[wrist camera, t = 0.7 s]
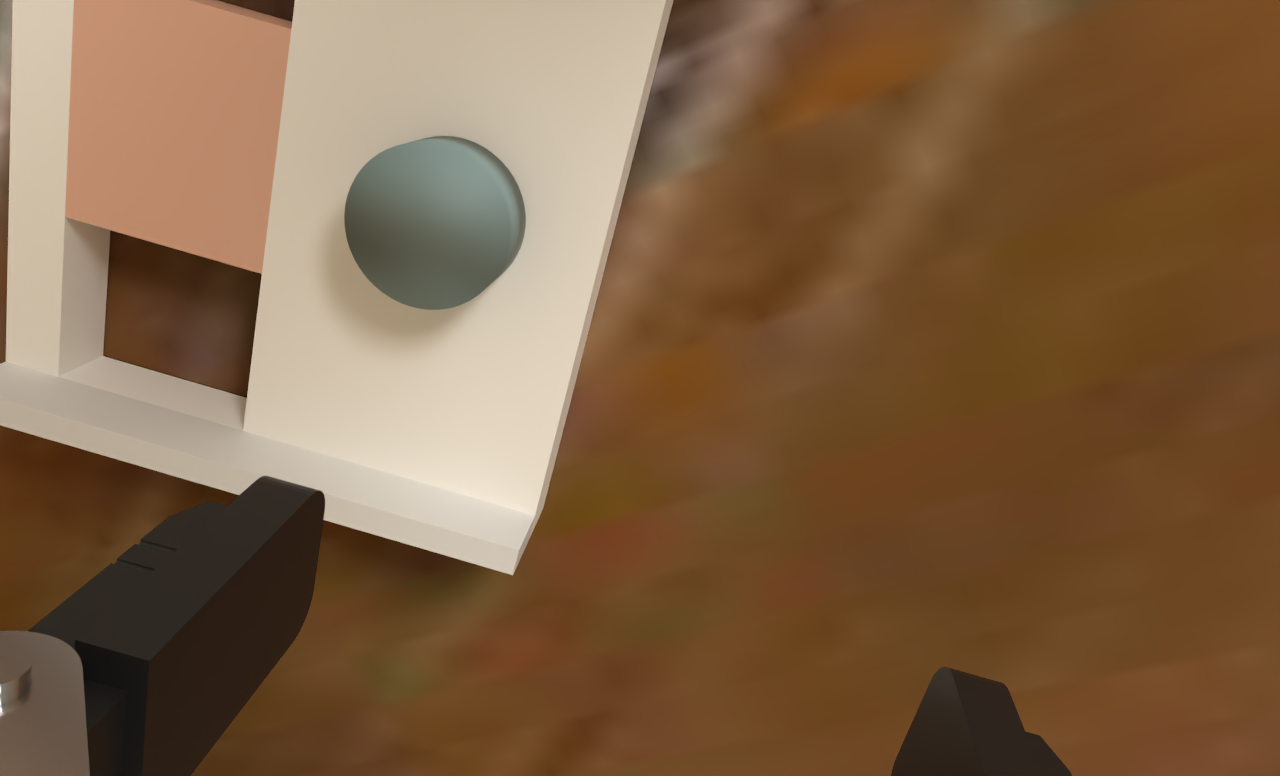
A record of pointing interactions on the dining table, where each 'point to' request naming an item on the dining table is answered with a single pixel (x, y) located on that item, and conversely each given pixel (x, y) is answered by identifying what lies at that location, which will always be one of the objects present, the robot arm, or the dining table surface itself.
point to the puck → (434, 221)
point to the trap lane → (320, 240)
